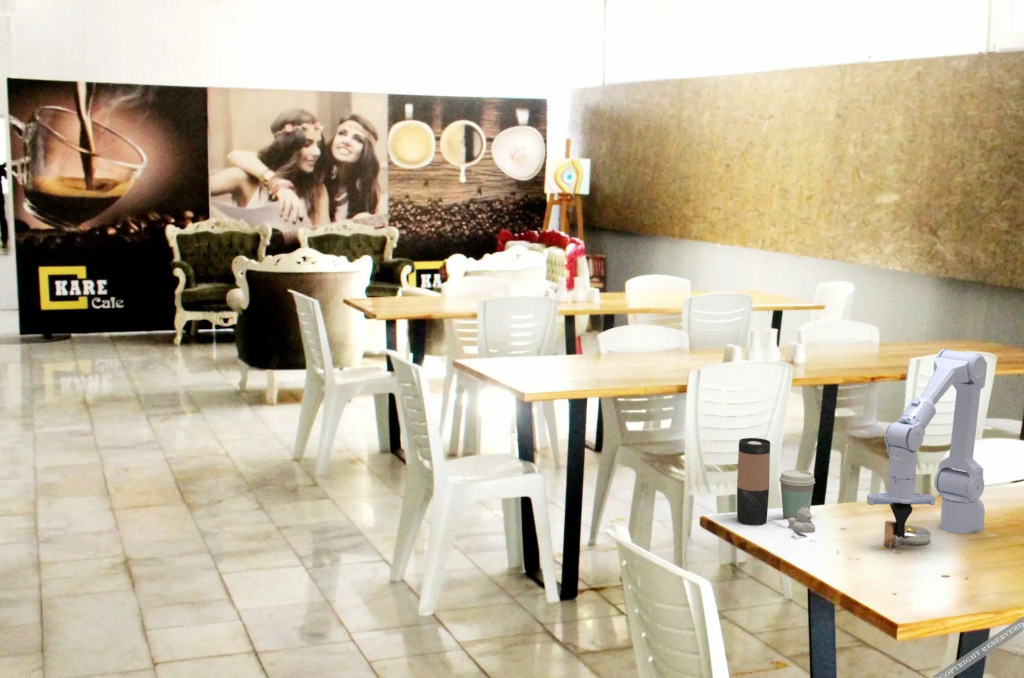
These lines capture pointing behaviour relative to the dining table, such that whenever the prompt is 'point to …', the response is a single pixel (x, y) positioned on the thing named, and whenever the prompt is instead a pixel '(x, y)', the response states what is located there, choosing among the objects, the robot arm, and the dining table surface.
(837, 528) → the dining table surface
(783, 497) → the coffee cup
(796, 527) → the grey animal figurine
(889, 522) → the dial
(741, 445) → the travel mug
